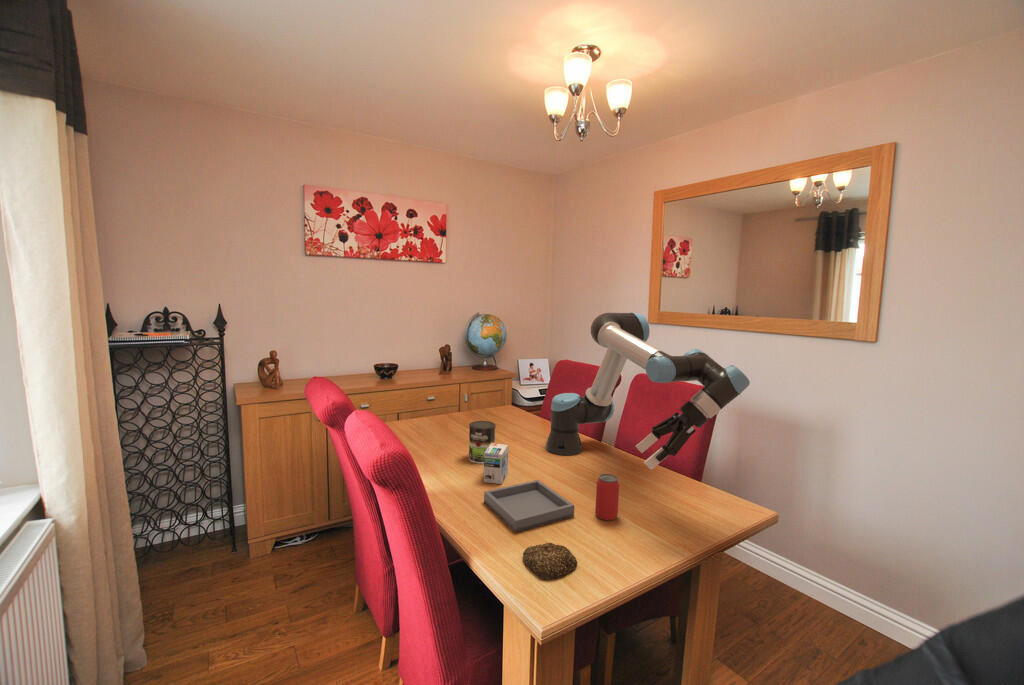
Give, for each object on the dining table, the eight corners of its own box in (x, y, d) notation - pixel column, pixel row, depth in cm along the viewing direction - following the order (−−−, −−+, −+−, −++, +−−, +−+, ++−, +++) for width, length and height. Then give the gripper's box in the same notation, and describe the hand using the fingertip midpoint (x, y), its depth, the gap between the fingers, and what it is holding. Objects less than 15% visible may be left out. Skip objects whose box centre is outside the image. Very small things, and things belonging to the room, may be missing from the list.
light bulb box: (501, 484, 153) (502, 454, 152) (482, 482, 155) (483, 452, 153) (508, 472, 164) (509, 444, 162) (490, 470, 165) (491, 442, 164)
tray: (537, 489, 150) (538, 479, 150) (574, 516, 133) (574, 505, 132) (484, 502, 140) (484, 491, 140) (515, 532, 123) (516, 520, 123)
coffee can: (490, 465, 170) (491, 429, 168) (465, 462, 172) (465, 426, 171) (497, 455, 180) (498, 421, 178) (473, 453, 182) (474, 419, 181)
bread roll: (539, 585, 102) (539, 564, 101) (516, 555, 113) (517, 536, 112) (586, 572, 107) (587, 553, 106) (561, 545, 118) (561, 527, 118)
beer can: (592, 510, 137) (594, 473, 135) (613, 510, 137) (615, 472, 136) (598, 521, 130) (600, 482, 129) (620, 521, 131) (622, 482, 129)
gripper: (724, 432, 115) (661, 484, 118) (694, 408, 140) (643, 452, 143) (704, 411, 115) (642, 463, 118) (678, 391, 140) (627, 435, 143)
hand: (642, 457), depth 131 cm, fingers open, 13 cm apart
